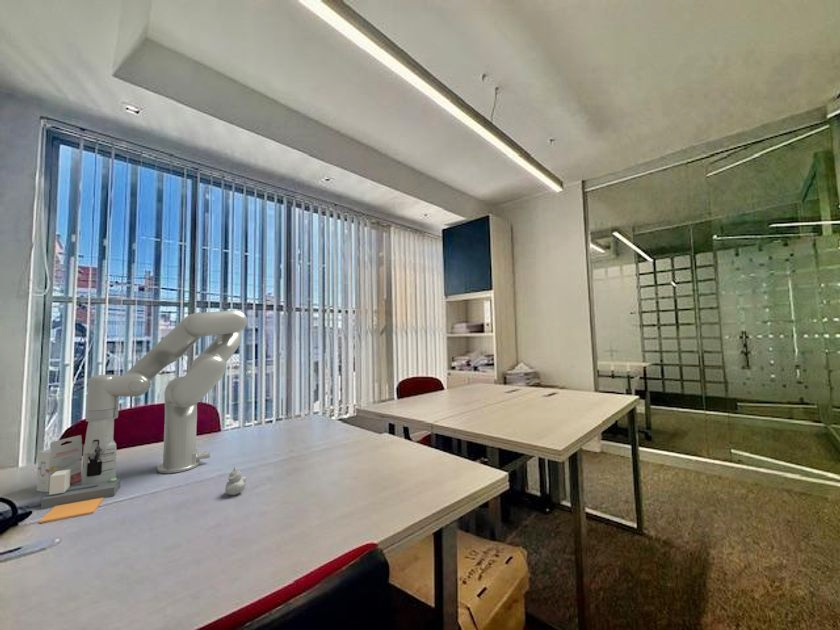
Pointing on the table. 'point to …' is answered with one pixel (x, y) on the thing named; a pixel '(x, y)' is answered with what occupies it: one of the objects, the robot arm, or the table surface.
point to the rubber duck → (235, 483)
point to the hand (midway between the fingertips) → (98, 470)
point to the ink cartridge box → (60, 461)
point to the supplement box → (107, 465)
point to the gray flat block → (82, 493)
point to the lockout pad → (72, 510)
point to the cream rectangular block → (59, 482)
